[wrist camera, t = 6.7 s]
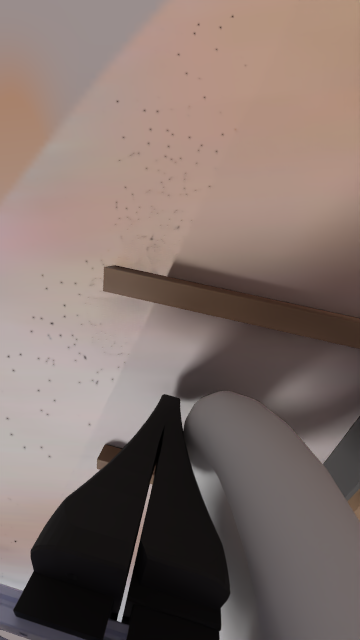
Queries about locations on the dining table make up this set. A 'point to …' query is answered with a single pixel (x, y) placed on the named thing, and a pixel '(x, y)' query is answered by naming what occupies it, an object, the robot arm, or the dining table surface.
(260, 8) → the dining table surface
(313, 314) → the guide track
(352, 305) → the dining table surface
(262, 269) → the dining table surface
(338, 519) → the donut
